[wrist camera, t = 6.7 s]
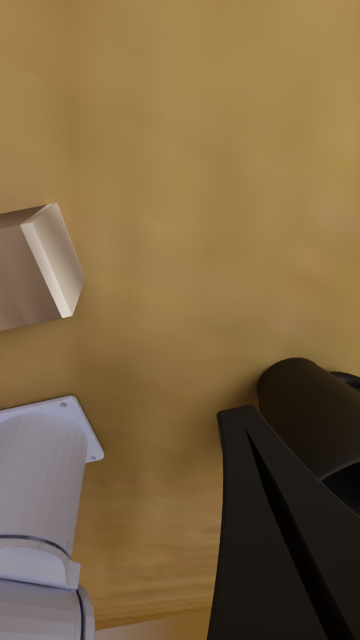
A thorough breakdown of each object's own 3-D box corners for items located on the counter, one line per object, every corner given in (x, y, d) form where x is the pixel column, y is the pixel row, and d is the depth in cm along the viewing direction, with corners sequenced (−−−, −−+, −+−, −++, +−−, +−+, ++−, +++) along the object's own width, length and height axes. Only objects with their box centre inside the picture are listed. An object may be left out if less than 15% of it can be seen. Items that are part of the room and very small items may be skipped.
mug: (369, 392, 27) (467, 497, 19) (245, 424, 27) (292, 541, 19) (383, 321, 23) (518, 417, 15) (236, 358, 23) (292, 475, 15)
